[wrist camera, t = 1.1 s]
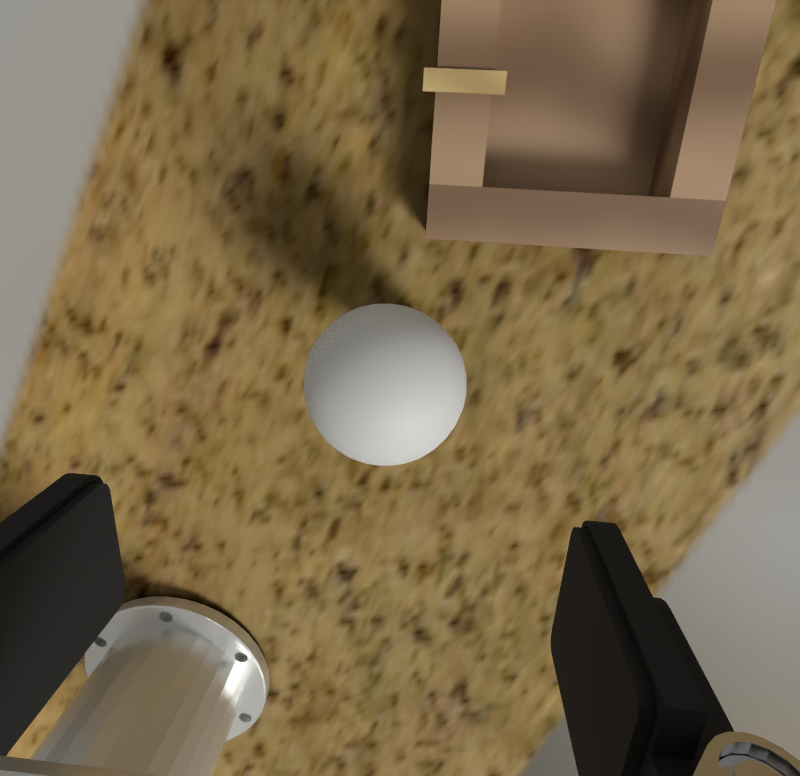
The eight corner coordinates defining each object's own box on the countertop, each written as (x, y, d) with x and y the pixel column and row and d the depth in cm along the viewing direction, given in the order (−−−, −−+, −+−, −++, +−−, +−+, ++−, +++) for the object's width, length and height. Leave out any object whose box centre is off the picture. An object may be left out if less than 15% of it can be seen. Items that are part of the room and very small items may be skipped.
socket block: (682, 248, 25) (713, 256, 22) (417, 232, 26) (413, 238, 23) (759, -82, 21) (810, -126, 18) (437, -91, 22) (436, -135, 19)
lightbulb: (344, 267, 27) (281, 318, 17) (466, 276, 27) (479, 333, 16) (342, 382, 29) (285, 489, 19) (455, 391, 29) (460, 505, 19)
